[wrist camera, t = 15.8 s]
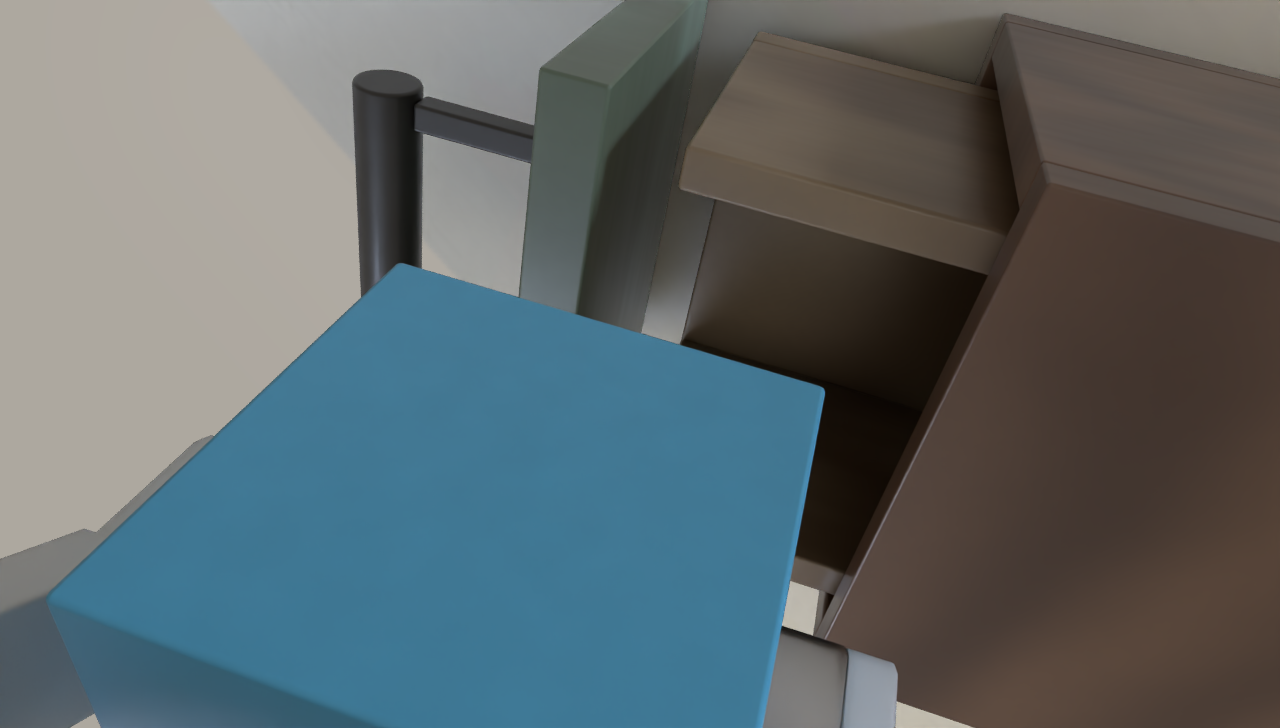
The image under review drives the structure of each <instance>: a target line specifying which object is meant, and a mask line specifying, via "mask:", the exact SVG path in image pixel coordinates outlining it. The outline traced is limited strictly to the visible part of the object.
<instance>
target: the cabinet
mask: <svg viewBox="0 0 1280 728" xmlns="http://www.w3.org/2000/svg"><path fill="white" fill-rule="evenodd" d="M975 85H977V86H981V87H985V88H989V89H993V90H997V91H998V94H999V100H1000V105H1001V110H1002V116H1003V121H1004V127H1005V132H1006V138H1007V143H1008V148H1009V154H1010V159H1011V165H1012V170H1013V176H1014V181H1015V186H1016V192H1017V197H1018V203H1019V208H1020V210H1019V212H1018V214H1017V216H1016V219H1015V221H1014V223H1013V225H1012V227H1011V229H1010V231H1009V233H1008V235H1007V237H1006V239H1005V241H1004V243H1003V246H1002V248H1001V250H1000V252H999V254H998V256H997V258H996V260H995V262H994V264H993V266H992V268H991V271H990V273H989V275H988V277H987V279H986V281H985V283H984V285H983V287H982V289H981V291H980V293H979V296H978V298H977V300H976V302H975V304H974V306H973V308H972V310H971V312H970V314H969V316H968V318H967V321H966V323H965V325H964V327H963V329H962V331H961V333H960V335H959V337H958V339H957V341H956V343H955V345H954V348H953V350H952V352H951V354H950V356H949V358H948V360H947V362H946V364H945V366H944V368H943V370H942V373H941V375H940V377H939V379H938V381H937V383H936V385H935V387H934V389H933V391H932V393H931V395H930V398H929V400H928V402H927V404H926V406H925V408H924V410H923V412H922V414H921V416H920V418H919V420H918V422H917V425H916V427H915V429H914V431H913V433H912V435H911V437H910V439H909V441H908V443H907V445H906V447H905V450H904V452H903V454H902V456H901V458H900V460H899V462H898V464H897V466H896V468H895V470H894V472H893V475H892V477H891V479H890V481H889V483H888V485H887V487H886V489H885V491H884V493H883V495H882V497H881V499H880V502H879V504H878V506H877V508H876V510H875V512H874V514H873V516H872V518H871V520H870V522H869V524H868V527H867V529H866V531H865V533H864V535H863V537H862V539H861V541H860V543H859V545H858V547H857V549H856V552H855V554H854V556H853V558H852V560H851V562H850V564H849V566H848V568H847V570H846V572H845V574H844V576H843V579H842V581H841V583H840V585H839V587H838V589H837V591H836V593H835V595H833V594H830V593H827V592H824V591H821V590H819V597H818V604H817V611H816V619H815V626H814V633H813V636H815V637H818V638H822V639H825V640H828V641H831V642H834V643H837V644H840V645H844V646H845V649H846V648H849V649H852V650H855V651H858V652H861V653H864V654H867V655H870V656H873V657H876V658H879V659H882V660H886V661H889V662H892V663H893V664H894V665H895V667H896V670H897V673H898V680H897V701H898V702H901V703H903V704H906V705H909V706H912V707H915V708H918V709H921V710H924V711H927V712H930V713H933V714H936V715H939V716H942V717H945V718H948V719H951V720H953V721H956V722H959V723H962V724H965V725H968V726H971V727H974V728H1280V79H1277V78H1273V77H1269V76H1264V75H1260V74H1256V73H1252V72H1248V71H1244V70H1239V69H1235V68H1231V67H1227V66H1223V65H1219V64H1214V63H1210V62H1206V61H1202V60H1198V59H1194V58H1190V57H1185V56H1181V55H1177V54H1173V53H1169V52H1165V51H1160V50H1156V49H1152V48H1148V47H1144V46H1140V45H1135V44H1131V43H1127V42H1123V41H1119V40H1115V39H1110V38H1106V37H1102V36H1098V35H1094V34H1090V33H1086V32H1081V31H1077V30H1073V29H1069V28H1065V27H1061V26H1056V25H1052V24H1048V23H1044V22H1040V21H1036V20H1031V19H1027V18H1023V17H1019V16H1015V15H1011V14H1004V15H1003V16H1002V19H1001V21H1000V24H999V26H998V29H997V31H996V33H995V36H994V38H993V41H992V43H991V46H990V48H989V51H988V53H987V56H986V58H985V61H984V63H983V66H982V68H981V71H980V73H979V75H978V78H977V80H976V83H975Z"/></svg>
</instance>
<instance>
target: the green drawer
mask: <svg viewBox="0 0 1280 728" xmlns="http://www.w3.org/2000/svg"><path fill="white" fill-rule="evenodd" d="M707 4H708V0H624V1H623V2H622V3H621V4H619V5H618V6H617V7H616V8H614V9H613V10H612V11H611V12H609V13H608V14H607V15H606V16H604V17H603V18H602V19H601V20H599V21H598V22H597V23H596V24H594V25H593V26H592V27H591V28H589V29H588V30H587V31H586V32H584V33H583V34H582V35H581V36H579V37H578V38H577V39H576V40H574V41H573V42H572V43H571V44H569V45H568V46H567V47H566V48H564V49H563V50H562V51H561V52H559V53H558V54H557V55H556V56H555V57H553V58H552V59H551V60H550V61H548V62H547V63H546V64H545V65H543V66H542V67H541V68H540V70H539V81H538V92H537V102H536V113H535V124H534V125H530V124H526V123H523V122H519V121H516V120H512V119H508V118H505V117H501V116H497V115H494V114H490V113H486V112H483V111H479V110H475V109H472V108H468V107H464V106H461V105H457V104H453V103H450V102H446V101H442V100H439V99H435V98H431V97H425V98H423V85H422V83H421V81H420V80H419V79H417V78H416V77H414V76H412V75H410V74H407V73H403V72H399V71H393V70H370V71H365V72H362V73H359V74H357V75H356V76H355V77H354V79H353V81H352V90H353V115H354V139H355V163H356V187H357V211H358V235H359V259H360V282H361V297H362V296H363V295H364V294H365V293H366V292H368V291H369V290H370V289H371V288H372V287H373V286H374V285H375V284H376V283H377V282H378V281H379V280H380V279H381V278H382V277H383V276H384V275H386V274H387V273H388V272H389V271H390V270H391V269H392V268H393V267H394V266H395V265H396V264H398V263H404V264H407V265H410V266H414V267H417V268H421V269H422V173H423V133H424V134H428V135H431V136H435V137H438V138H442V139H445V140H449V141H453V142H456V143H460V144H463V145H467V146H471V147H474V148H478V149H481V150H485V151H488V152H492V153H496V154H499V155H503V156H506V157H510V158H513V159H517V160H521V161H524V162H528V163H531V168H530V179H529V189H528V200H527V211H526V222H525V233H524V244H523V255H522V266H521V277H520V287H519V298H522V299H526V300H529V301H533V302H536V303H539V304H543V305H546V306H550V307H553V308H556V309H560V310H563V311H567V312H570V313H573V314H577V315H580V316H584V317H587V318H590V319H594V320H597V321H601V322H604V323H607V324H611V325H614V326H618V327H621V328H624V329H628V330H631V331H634V332H638V333H641V331H642V326H643V321H644V316H645V312H646V307H647V302H648V297H649V292H650V287H651V282H652V277H653V272H654V267H655V262H656V257H657V252H658V247H659V242H660V237H661V232H662V227H663V222H664V217H665V212H666V207H667V202H668V198H669V193H670V188H671V183H672V178H673V173H674V168H675V163H676V158H677V153H678V148H679V143H680V138H681V133H682V128H683V123H684V118H685V113H686V108H687V103H688V98H689V93H690V88H691V84H692V79H693V74H694V69H695V64H696V59H697V54H698V49H699V44H700V39H701V34H702V29H703V24H704V19H705V14H706V9H707ZM678 186H679V189H681V190H683V191H687V192H690V193H694V194H698V195H701V196H705V197H708V198H712V199H715V201H714V205H713V209H712V214H711V218H710V222H709V226H708V230H707V235H706V239H705V243H704V247H703V251H702V256H701V260H700V264H699V268H698V272H697V277H696V281H695V285H694V289H693V293H692V298H691V302H690V306H689V310H688V314H687V319H686V323H685V327H684V331H683V335H682V340H681V342H680V344H679V345H682V346H685V347H689V348H692V349H696V350H699V351H702V352H706V353H709V354H713V355H716V356H719V357H723V358H726V359H730V360H733V361H736V362H740V363H743V364H747V365H750V366H753V367H757V368H760V369H763V370H767V371H770V372H774V373H777V374H780V375H784V376H787V377H791V378H794V379H797V380H801V381H804V382H808V383H811V384H814V385H818V386H821V387H822V388H824V391H825V397H824V402H823V407H822V413H821V418H820V423H819V429H818V434H817V439H816V445H815V450H814V456H813V461H812V466H811V472H810V477H809V482H808V488H807V493H806V498H805V504H804V509H803V514H802V520H801V525H800V530H799V536H798V541H797V546H796V552H795V557H794V563H793V568H792V573H791V579H790V581H793V582H796V583H799V584H802V585H805V586H808V587H811V588H814V589H817V590H821V591H824V592H827V593H830V594H833V595H835V593H836V591H837V589H838V587H839V585H840V583H841V581H842V579H843V576H844V574H845V572H846V570H847V568H848V566H849V564H850V562H851V560H852V558H853V556H854V554H855V552H856V549H857V547H858V545H859V543H860V541H861V539H862V537H863V535H864V533H865V531H866V529H867V527H868V524H869V522H870V520H871V518H872V516H873V514H874V512H875V510H876V508H877V506H878V504H879V502H880V499H881V497H882V495H883V493H884V491H885V489H886V487H887V485H888V483H889V481H890V479H891V477H892V475H893V472H894V470H895V468H896V466H897V464H898V462H899V460H900V458H901V456H902V454H903V452H904V450H905V447H906V445H907V443H908V441H909V439H910V437H911V435H912V433H913V431H914V429H915V427H916V425H917V422H918V420H919V418H920V416H921V414H922V412H923V410H924V408H925V406H926V404H927V402H928V400H929V398H930V395H931V393H932V391H933V389H934V387H935V385H936V383H937V381H938V379H939V377H940V375H941V373H942V370H943V368H944V366H945V364H946V362H947V360H948V358H949V356H950V354H951V352H952V350H953V348H954V345H955V343H956V341H957V339H958V337H959V335H960V333H961V331H962V329H963V327H964V325H965V323H966V321H967V318H968V316H969V314H970V312H971V310H972V308H973V306H974V304H975V302H976V300H977V298H978V296H979V293H980V291H981V289H982V287H983V285H984V283H985V281H986V279H987V277H988V275H989V273H990V271H991V268H992V266H993V264H994V262H995V260H996V258H997V256H998V254H999V252H1000V250H1001V248H1002V246H1003V243H1004V241H1005V239H1006V237H1007V235H1008V233H1009V231H1010V229H1011V227H1012V225H1013V223H1014V221H1015V219H1016V216H1017V214H1018V212H1019V210H1020V208H1019V203H1018V197H1017V192H1016V186H1015V181H1014V176H1013V170H1012V165H1011V159H1010V154H1009V148H1008V143H1007V138H1006V132H1005V127H1004V121H1003V116H1002V110H1001V105H1000V100H999V94H998V91H997V90H993V89H989V88H985V87H981V86H977V85H973V84H969V83H965V82H961V81H957V80H953V79H949V78H945V77H941V76H937V75H933V74H929V73H925V72H921V71H917V70H913V69H909V68H905V67H901V66H897V65H893V64H889V63H885V62H881V61H877V60H873V59H869V58H865V57H861V56H857V55H853V54H849V53H845V52H841V51H837V50H833V49H829V48H825V47H821V46H817V45H814V44H810V43H806V42H802V41H798V40H794V39H790V38H786V37H782V36H778V35H774V34H770V33H766V32H762V31H760V32H758V34H757V35H756V37H755V38H754V40H753V42H752V44H751V45H750V47H749V48H748V50H747V51H746V53H745V55H744V56H743V58H742V59H741V61H740V63H739V64H738V66H737V67H736V69H735V71H734V72H733V74H732V75H731V77H730V79H729V80H728V82H727V83H726V85H725V87H724V88H723V90H722V91H721V93H720V94H719V96H718V98H717V99H716V101H715V102H714V104H713V106H712V107H711V109H710V110H709V112H708V114H707V115H706V117H705V118H704V120H703V122H702V123H701V125H700V126H699V128H698V130H697V131H696V133H695V134H694V136H693V137H692V139H691V141H690V142H689V144H688V145H687V147H686V149H685V154H684V158H683V163H682V168H681V173H680V178H679V183H678Z"/></svg>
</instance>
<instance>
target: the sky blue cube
mask: <svg viewBox="0 0 1280 728" xmlns="http://www.w3.org/2000/svg"><path fill="white" fill-rule="evenodd" d="M824 397H825V391H824V388H822V387H821V386H818V385H814V384H811V383H808V382H804V381H801V380H797V379H794V378H791V377H787V376H784V375H780V374H777V373H774V372H770V371H767V370H763V369H760V368H757V367H753V366H750V365H747V364H743V363H740V362H736V361H733V360H730V359H726V358H723V357H719V356H716V355H713V354H709V353H706V352H702V351H699V350H696V349H692V348H689V347H685V346H682V345H679V344H675V343H672V342H668V341H665V340H662V339H658V338H655V337H651V336H648V335H645V334H641V333H638V332H634V331H631V330H628V329H624V328H621V327H618V326H614V325H611V324H607V323H604V322H601V321H597V320H594V319H590V318H587V317H584V316H580V315H577V314H573V313H570V312H567V311H563V310H560V309H556V308H553V307H550V306H546V305H543V304H539V303H536V302H533V301H529V300H526V299H522V298H519V297H516V296H512V295H509V294H506V293H502V292H499V291H495V290H492V289H489V288H485V287H482V286H478V285H475V284H472V283H468V282H465V281H461V280H458V279H455V278H451V277H447V276H444V275H441V274H437V273H434V272H431V271H427V270H424V269H421V268H417V267H414V266H410V265H407V264H404V263H398V264H396V265H395V266H394V267H393V268H392V269H391V270H390V271H389V272H388V273H387V274H386V275H384V276H383V277H382V278H381V279H380V280H379V281H378V282H377V283H376V284H375V285H374V286H373V287H372V288H371V289H370V290H369V291H368V292H366V293H365V294H364V295H363V296H362V297H361V298H360V299H359V300H358V301H357V302H356V303H355V304H354V305H353V306H352V307H351V308H349V309H348V310H347V312H345V313H344V314H343V315H342V316H341V317H340V318H339V319H338V320H337V321H336V322H335V323H334V324H333V325H332V326H331V327H329V328H328V329H327V330H326V331H325V332H324V333H323V334H322V335H321V336H320V337H319V338H318V339H317V340H316V341H315V342H314V343H312V344H311V345H310V346H309V347H308V348H307V349H306V350H305V351H304V352H303V353H302V354H301V355H300V356H299V357H298V358H297V359H295V360H294V361H293V362H292V363H291V364H290V365H289V366H288V367H287V368H286V369H285V370H284V371H283V372H282V373H281V374H280V375H279V376H277V377H276V378H275V379H274V380H273V381H272V382H271V383H270V384H269V385H268V386H267V387H266V388H265V389H264V390H263V391H262V392H261V393H259V394H258V395H257V396H256V397H255V398H254V399H253V400H252V401H251V402H250V403H249V404H248V405H247V406H246V407H245V408H243V409H242V410H241V411H240V412H239V413H238V414H237V415H236V416H235V417H234V418H233V419H232V420H231V421H230V422H229V423H228V424H227V425H225V427H223V428H222V429H221V430H220V431H219V432H218V433H217V434H216V435H215V436H214V437H213V438H212V439H211V440H210V441H209V442H207V443H206V444H205V445H204V446H203V447H202V448H201V449H200V450H199V451H198V452H197V453H196V454H195V455H194V456H193V457H192V458H190V459H189V460H188V461H187V462H186V463H185V464H184V465H183V466H182V467H181V468H180V469H179V470H178V471H177V472H176V473H175V474H174V475H172V476H171V477H170V478H169V479H168V480H167V481H166V482H165V483H164V484H163V485H162V486H161V487H160V488H159V489H158V490H157V491H156V492H154V493H153V494H152V495H151V496H150V497H149V498H148V499H147V500H146V501H145V502H144V503H143V504H142V505H141V506H140V507H139V508H137V509H136V510H135V511H134V512H133V513H132V514H131V515H130V516H129V517H128V518H127V519H126V520H125V521H124V522H123V523H122V524H121V525H119V526H118V527H117V528H116V529H115V530H114V531H113V532H112V533H111V534H110V535H109V536H108V537H107V538H106V539H105V540H104V541H103V542H101V543H100V544H99V545H98V546H97V547H96V548H95V549H94V550H93V551H92V552H91V553H90V554H89V555H88V556H87V557H86V558H84V559H83V560H82V561H81V562H80V563H79V564H78V565H77V566H76V567H75V568H74V569H73V570H72V571H71V572H70V573H69V574H68V575H66V576H65V577H64V578H63V579H62V580H61V581H60V582H59V583H58V584H57V585H56V586H55V587H54V588H53V589H52V590H51V591H50V592H49V593H48V595H47V597H46V603H47V606H48V608H49V610H50V613H51V615H52V617H53V619H54V622H55V624H56V626H57V628H58V631H59V633H60V635H61V638H62V640H63V642H64V644H65V647H66V649H67V651H68V654H69V656H70V658H71V660H72V663H73V665H74V667H75V670H76V672H77V674H78V676H79V679H80V681H81V683H82V685H83V688H84V690H85V692H86V695H87V697H88V699H89V701H90V704H91V706H92V708H93V711H94V713H95V715H96V717H97V720H98V722H99V724H100V726H101V728H763V723H764V718H765V712H766V707H767V702H768V696H769V691H770V686H771V680H772V675H773V670H774V664H775V659H776V653H777V648H778V643H779V637H780V632H781V627H782V621H783V616H784V611H785V605H786V600H787V595H788V589H789V584H790V579H791V573H792V568H793V563H794V557H795V552H796V546H797V541H798V536H799V530H800V525H801V520H802V514H803V509H804V504H805V498H806V493H807V488H808V482H809V477H810V472H811V466H812V461H813V456H814V450H815V445H816V439H817V434H818V429H819V423H820V418H821V413H822V407H823V402H824Z"/></svg>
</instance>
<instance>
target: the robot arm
mask: <svg viewBox="0 0 1280 728" xmlns="http://www.w3.org/2000/svg"><path fill="white" fill-rule="evenodd" d="M213 437H214V436H212V435H210V436H208V437H205V438H203V439H201V440H198V441H196V442H194V443H193V444H192V445H191V446H190V447H189V448H187V449H186V450H185V451H184V452H183V453H182V454H181V455H180V456H179V457H178V458H177V459H176V460H174V461H173V462H172V463H171V464H170V465H169V466H168V467H167V468H166V469H165V470H164V471H162V473H160V474H159V475H158V476H157V477H156V478H155V479H154V480H153V481H152V482H150V484H148V485H147V486H146V487H145V488H144V489H143V490H142V491H141V492H140V493H139V494H138V495H137V496H135V497H134V498H133V499H132V500H131V501H130V502H129V503H128V504H127V505H125V506H124V507H123V508H122V509H121V510H120V511H119V512H118V513H117V514H116V515H115V516H113V517H112V518H111V519H110V520H109V521H108V522H107V523H106V524H105V525H104V526H103V527H102V528H100V530H98V531H97V532H93V531H90V530H87V529H82V530H79V531H76V532H74V533H71V534H68V535H65V536H62V537H60V538H57V539H54V540H51V541H49V542H46V543H43V544H40V545H38V546H35V547H32V548H29V549H27V550H24V551H21V552H18V553H15V554H13V555H10V556H7V557H4V558H1V559H0V728H70V727H72V726H73V725H75V724H77V723H79V722H80V721H82V720H84V719H86V718H87V717H89V716H91V715H92V714H94V711H93V708H92V706H91V704H90V701H89V699H88V697H87V695H86V692H85V690H84V688H83V685H82V683H81V681H80V679H79V676H78V674H77V672H76V670H75V667H74V665H73V663H72V660H71V658H70V656H69V654H68V651H67V649H66V647H65V644H64V642H63V640H62V638H61V635H60V633H59V631H58V628H57V626H56V624H55V622H54V619H53V617H52V615H51V613H50V610H49V608H48V606H47V603H46V597H47V595H48V593H49V592H50V591H51V590H52V589H53V588H54V587H55V586H56V585H57V584H58V583H59V582H60V581H61V580H62V579H63V578H64V577H65V576H66V575H68V574H69V573H70V572H71V571H72V570H73V569H74V568H75V567H76V566H77V565H78V564H79V563H80V562H81V561H82V560H83V559H84V558H86V557H87V556H88V555H89V554H90V553H91V552H92V551H93V550H94V549H95V548H96V547H97V546H98V545H99V544H100V543H101V542H103V541H104V540H105V539H106V538H107V537H108V536H109V535H110V534H111V533H112V532H113V531H114V530H115V529H116V528H117V527H118V526H119V525H121V524H122V523H123V522H124V521H125V520H126V519H127V518H128V517H129V516H130V515H131V514H132V513H133V512H134V511H135V510H136V509H137V508H139V507H140V506H141V505H142V504H143V503H144V502H145V501H146V500H147V499H148V498H149V497H150V496H151V495H152V494H153V493H154V492H156V491H157V490H158V489H159V488H160V487H161V486H162V485H163V484H164V483H165V482H166V481H167V480H168V479H169V478H170V477H171V476H172V475H174V474H175V473H176V472H177V471H178V470H179V469H180V468H181V467H182V466H183V465H184V464H185V463H186V462H187V461H188V460H189V459H190V458H192V457H193V456H194V455H195V454H196V453H197V452H198V451H199V450H200V449H201V448H202V447H203V446H204V445H205V444H206V443H207V442H209V441H210V440H211V439H212V438H213ZM897 680H898V673H897V670H896V667H895V665H894V664H893V663H892V662H889V661H886V660H882V659H879V658H876V657H873V656H870V655H867V654H864V653H861V652H858V651H855V650H852V649H849V648H846V649H845V646H844V645H840V644H837V643H834V642H831V641H828V640H825V639H822V638H818V637H815V636H812V635H809V634H806V633H803V632H799V631H796V630H793V629H790V628H787V627H784V626H782V627H781V632H780V637H779V643H778V648H777V653H776V659H775V664H774V670H773V675H772V680H771V686H770V691H769V696H768V702H767V707H766V712H765V718H764V723H763V728H895V724H896V702H897Z"/></svg>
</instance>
